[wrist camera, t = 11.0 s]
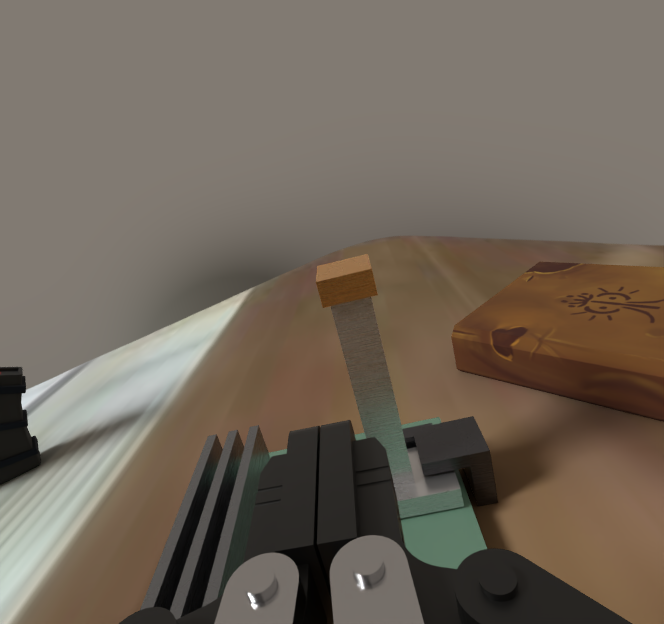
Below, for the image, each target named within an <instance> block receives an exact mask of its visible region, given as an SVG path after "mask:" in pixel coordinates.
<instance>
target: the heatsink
mask: <svg viewBox="0 0 664 624" xmlns="http://www.w3.org/2000/svg"><path fill="white" fill-rule="evenodd" d="M402 430H403V434H404V439H405V443H406V447H407V449H409V448H414V447H416V448H417V452H418V455H419V459H420V463H421V467H422V471H423V475H424V476H427V475H432V474H437V473H442V472H447V471H452V470H457V469H462V468H464V471H465V473H466V476H467V479H468V481H469V484H470V487H471V489H472V492H473V494H474V497H475V500H476V502H477V505H478V506H482V505H487V504H492V503H497V502H498V499H497V493H496V486H495V480H494V474H493V468H492V462H491V455H490V450H489V448H488V446H487V444H486V442H485V440H484V438H483V435H482V433H481V431H480V429H479V427H478V425H477V423H476V421H475V419H474V417H473V416H472V417H468V418H463V419H458V420H453V421H448V422H444V423H439V424H434V425H432V423H428V424H423V425H419V426H414V427H409V428H404V429H402ZM269 460H270V455H269V453H268V450H267V447H266V444H265V442H264V439H263V436H262V433H261V431H260V428H259V425H258V426H253V427H250V429H249V432H248V436H247V440H246V444H245V447H244V446H243V443H242V440H241V438H240V435H239V433H238V430H235V431H230V432H229V433H228V436H227V439H226V442H225V445H224V448H223V449H222V447H221V444H220V442H219V439H218V437H217V434H216V435H212V436H208V438H207V440H206V443H205V445H204V448H203V450H202V453H201V455H200V458H199V461H198V463H197V466H196V468H195V471H194V473H193V476H192V479H191V481H190V484H189V486H188V489H187V491H186V494H185V496H184V499H183V502H182V504H181V507H180V509H179V512H178V514H177V517H176V519H175V522H174V525H173V527H172V530H171V532H170V535H169V537H168V540H167V542H166V545H165V548H164V550H163V553H162V555H161V558H160V560H159V563H158V566H157V568H156V571H155V573H154V576H153V578H152V581H151V583H150V586H149V589H148V591H147V594H146V596H145V599H144V601H143V604H142V606H141V609H140V610H142V609H146V608H150V607H162V608H165V609H167V610H169V611H170V612H171V613H172V614H173V615H174V617H175V619H176V620H177V619H179V618H181V617H183V616H185V615H187V614H189V613H191V612H193V611H195V610H197V609H199V608H202V607H204V606H206V605H207V604H209V603H211V602H213V601H214V600H216V599H217V598H219V597H220V596H221V595H222V594H223V593H224V590H225V587H226V585H227V582H228V581H229V579H230V577H231V576H232V574H233V573H234V572H235V571H236V570H237V569H238V568H239V567H240V566H241V565H242V564H243V562H244V557H245V552H246V546H247V541H248V536H249V531H250V526H251V521H252V515H253V510H254V507H255V500H256V495H257V493H258V484H259V479H260V474H261V472H262V470H263V469H264V467H265V466H266V464H267V463H268V461H269Z"/></svg>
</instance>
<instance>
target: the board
mask: <svg viewBox="0 0 664 624" xmlns="http://www.w3.org/2000/svg"><path fill="white" fill-rule="evenodd" d="M428 423H432V425H434V424H439V423H441V420H440V418H439V417H437V418H432V419H428V420H423V421H418V422H413V423H409V424H404V425H401V426H402V429H404V428H409V427H414V426H419V425H423V424H428ZM355 438H356V440H361V439H366V436H365V433H361V434H356V435H355ZM282 454H287V449H285V450H280V451H276V452H271V453H269V455H270V458H271V457H272V456H276V455H282ZM454 471H455V474H456V477H457V480H458V483H459V485H460V488H461V493H462V498H463V503H464V507H458V508H453V509H448V510H443V511H438V512H432V513H427V514H422V515H417V516H412V517H407V518H401V523H402V529H403V535H404V540H405V546H406V548H407V550H408V551H409V552H410V553H411V554H412V555H413V556H415V557H416V558H417V559H419V560H421V561H423V562H425V563H427V564H430V565H434V566H439V567H446V568H453V569H457V568H458V566H459V565H460V564H461V562H462V561H463V560H464V559H465V558H466V557H468V556H469V555H471V554H473V553H475V552H477V551H480V550H484V549H487V547H486V544H485V541H484V539H483V536H482V533H481V530H480V528H479V525H478V522H477V519H476V517H475V514H474V511H473V508H472V506H471V503H470V500H469V497H468V495H467V492H466V489H465V486H464V484H463V481H462V478H461V475H460V473H459V470H458V469H457V470H454Z"/></svg>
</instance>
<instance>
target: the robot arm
mask: <svg viewBox="0 0 664 624" xmlns="http://www.w3.org/2000/svg"><path fill="white" fill-rule="evenodd" d="M119 624H632V623H630V622H629V621H627V620H625V619H624V618H622V617H621V616H619V615H617V614H616V613H614V612H612V611H611V610H609V609H608V608H606V607H604V606H603V605H601V604H599V603H598V602H596V601H594V600H593V599H591V598H590V597H588V596H586V595H585V594H583V593H581V592H580V591H578V590H577V589H575V588H573V587H572V586H570V585H568V584H567V583H565V582H564V581H562V580H560V579H559V578H557V577H555V576H554V575H552V574H550V573H549V572H547V571H546V570H544V569H542V568H541V567H539V566H537V565H536V564H534V563H533V562H531V561H529V560H528V559H526V558H524V557H523V556H521V555H519V554H517V553H514V552H512V551H508V550H504V549H484V550H480V551H477V552H475V553H473V554H471V555H469V556H468V557H466V558H465V559H464V560H463V561H462V562H461V564H460V565H459V566H458V568H457V569H453V568H446V567H439V566H434V565H430V564H427V563H425V562H423V561H421V560H419V559H417V558H416V557H415V556H413V555H412V554H411V553H410V552H409V551H408V550H407V548H406V546H405V540H404V535H403V529H402V523H401V518H400V512H399V506H398V501H397V496H396V491H395V487H394V483H393V478H392V474H391V469H390V465H389V461H388V456H387V452H386V449H385V448H384V446H383V445H382V444H381V443H380V442H379V441H378V440H377V439H376V438H375V437H371V438H366V439H361V440H356V438H355V434H354V431H353V427H352V423H351V421H350V420H347V421H342V422H337V423H332V424H327V425H322V426H321V428H320V426H316V427H311V428H305V429H300V430H295V431H290V433H289V438H288V446H287V454H282V455H276V456H272V457H271V458H270V460H269V461H268V463H267V464H266V466H265V467H264V469H263V470H262V472H261V474H260V479H259V484H258V493H257V495H256V500H255V507H254V510H253V515H252V521H251V526H250V531H249V536H248V541H247V546H246V552H245V557H244V562H243V564H242V565H241V566H240V567H239V568H238V569H237V570H236V571H235V572H234V573H233V574H232V576H231V577H230V579H229V581H228V582H227V585H226V587H225V590H224V593H223V594H222V595H221V596H220V597H219V598H217V599H216V600H214V601H213V602H211V603H209V604H207V605H206V606H204V607H202V608H199V609H197V610H195V611H193V612H191V613H189V614H187V615H185V616H183V617H181V618H179V619H177V620H176V619H175V617H174V615H173V614H172V613H171V612H170V611H169V610H167V609H165V608H162V607H150V608H146V609H142V610H140V611H138V612H135V613H134V614H132V615H130V616H128V617H127V618H126V619H124V620H123V621H122V622H120V623H119Z"/></svg>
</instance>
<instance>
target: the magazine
mask: <svg viewBox="0 0 664 624" xmlns="http://www.w3.org/2000/svg"><path fill="white" fill-rule="evenodd" d="M25 392H26V383H25V376H22V368H21V367H0V484H2V483H4V482H6V481H8V480H10V479H12V478H14V477H16V476H18V475H20V474H22V473H24V472H26V471H28V470H30V469H32V468H34V467H36V466H38V465H39V464H40V463H41V460H40V452H39V450H38V441H37V438H36V436H33V437H31V435H30V433H29V431H28V428H27V426H28V420H27V411H26V410H22V405H21V395H22V393H25Z"/></svg>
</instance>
